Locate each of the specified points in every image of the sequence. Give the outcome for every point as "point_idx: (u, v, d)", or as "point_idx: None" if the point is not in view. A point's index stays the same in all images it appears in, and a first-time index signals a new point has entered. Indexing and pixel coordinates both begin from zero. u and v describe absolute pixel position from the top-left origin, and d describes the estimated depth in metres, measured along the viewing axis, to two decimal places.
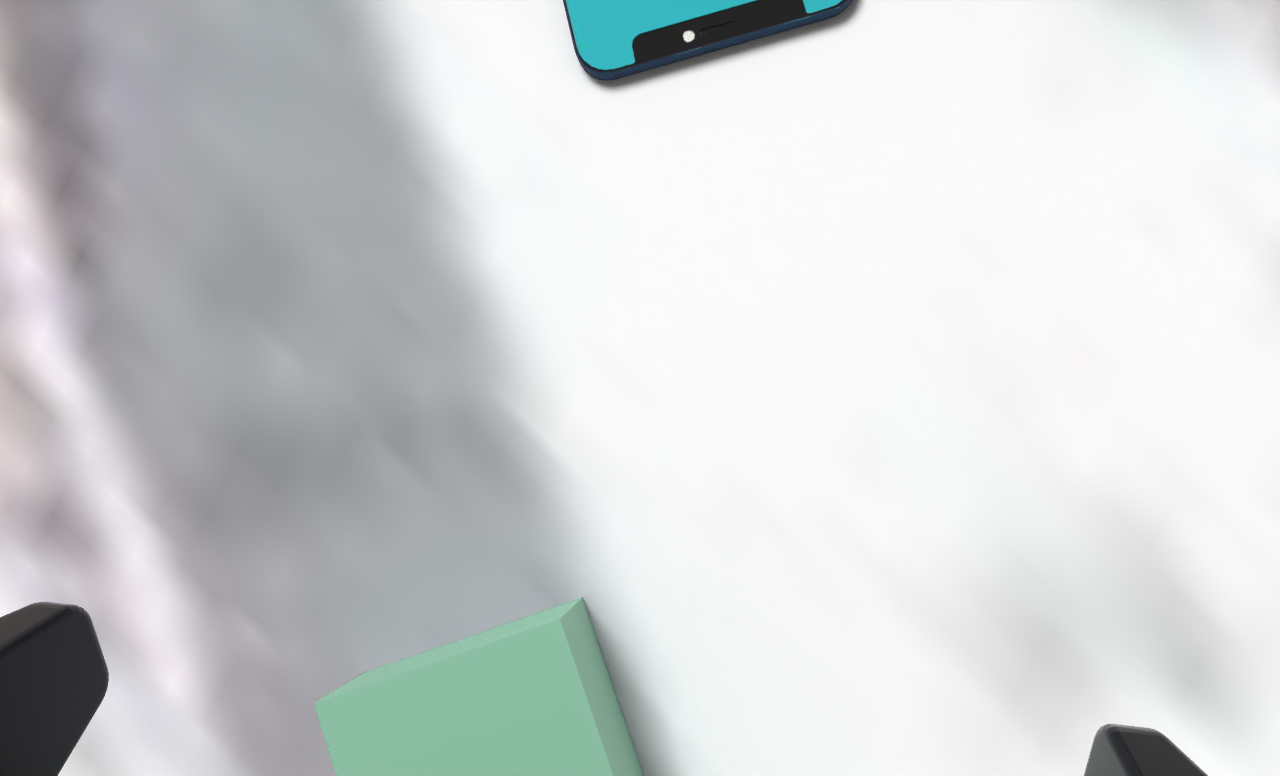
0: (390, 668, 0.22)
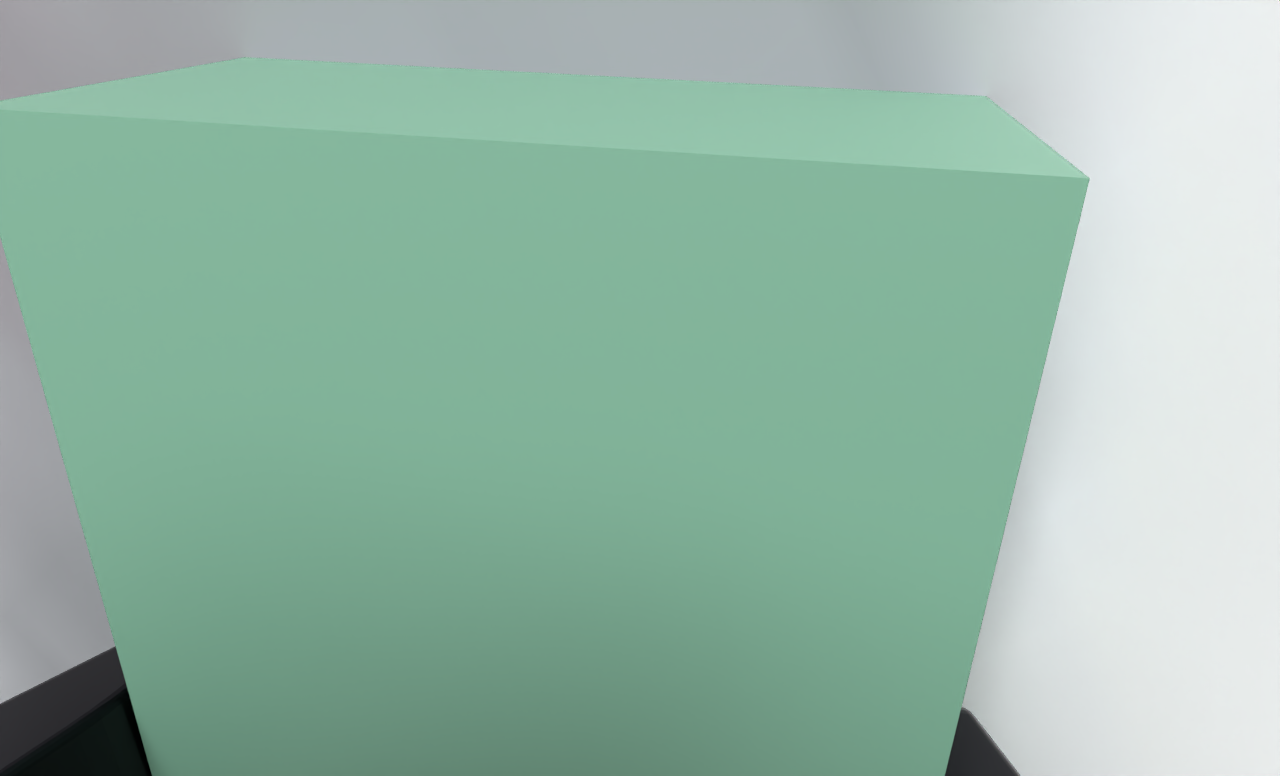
0: (305, 83, 0.06)
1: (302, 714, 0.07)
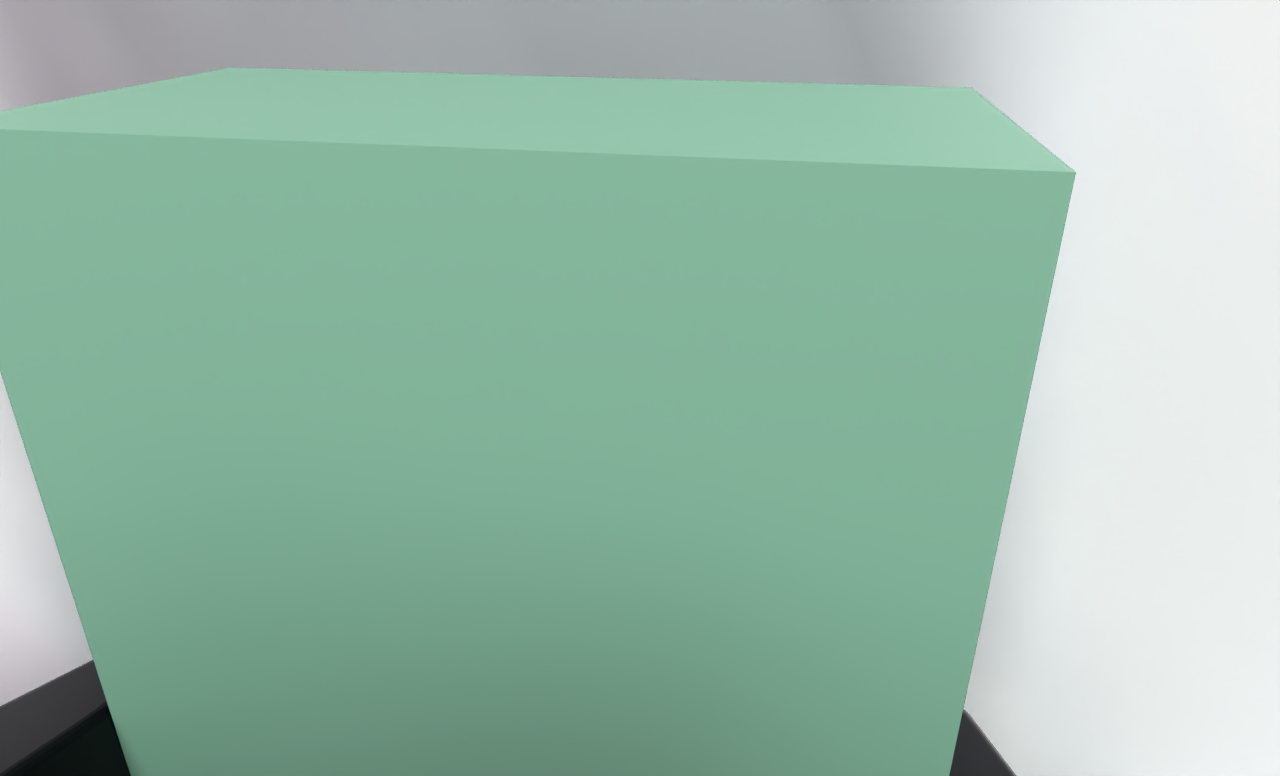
0: (277, 93, 0.06)
1: (288, 738, 0.07)
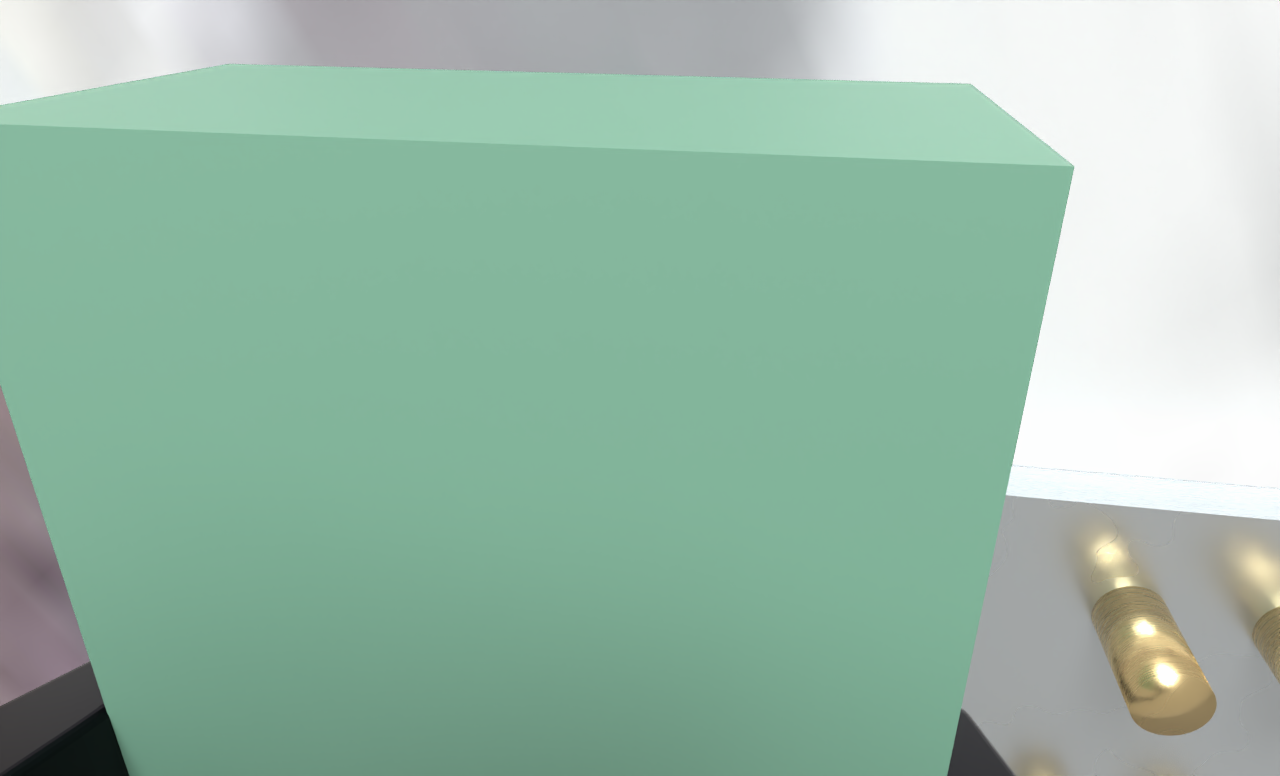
0: (273, 89, 0.06)
1: (285, 735, 0.07)
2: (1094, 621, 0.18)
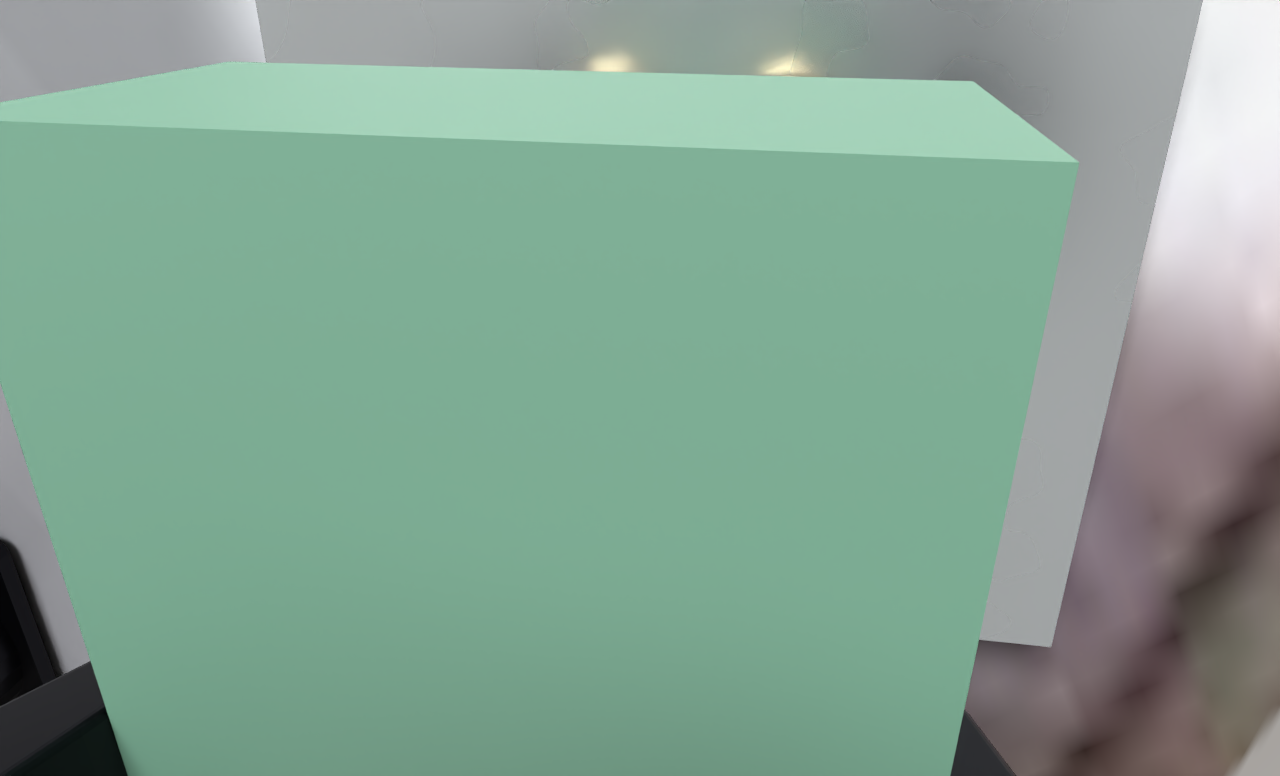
0: (274, 86, 0.06)
1: (285, 735, 0.07)
2: None
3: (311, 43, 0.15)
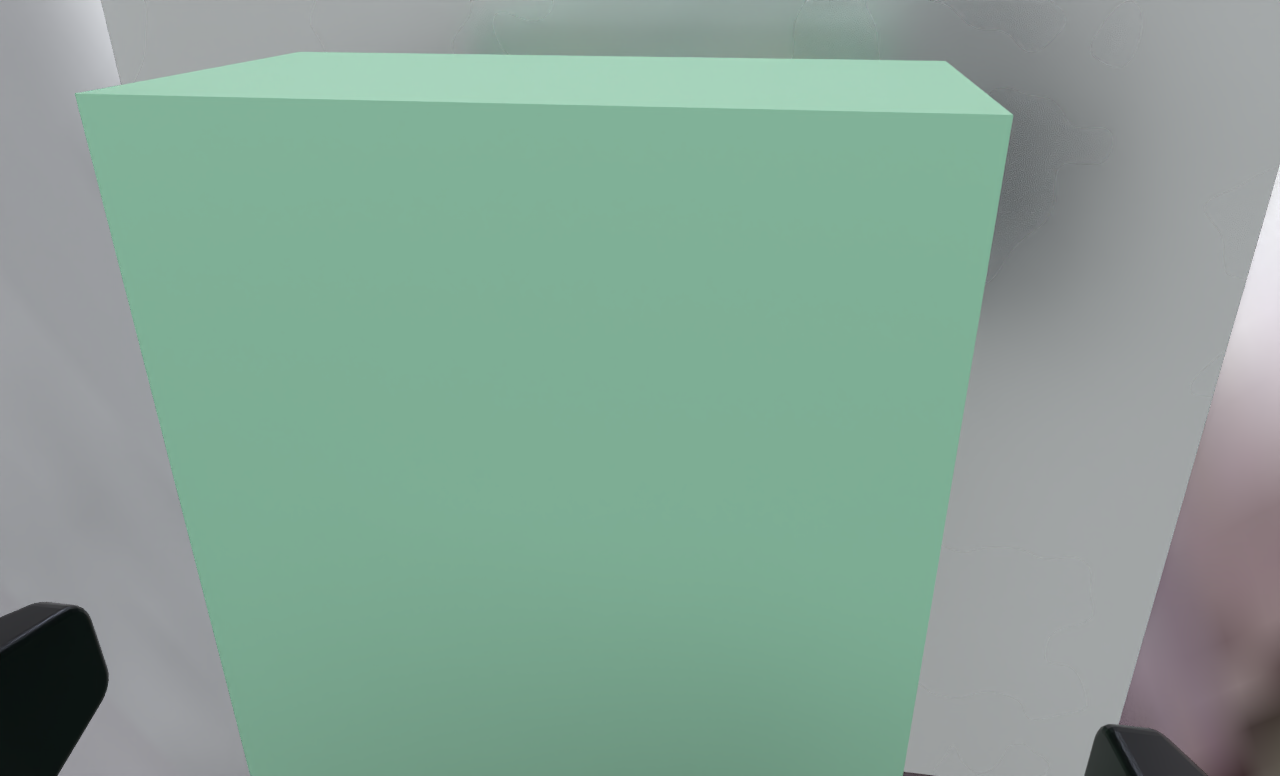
0: (351, 69, 0.07)
1: (362, 624, 0.08)
2: None
3: (176, 68, 0.12)
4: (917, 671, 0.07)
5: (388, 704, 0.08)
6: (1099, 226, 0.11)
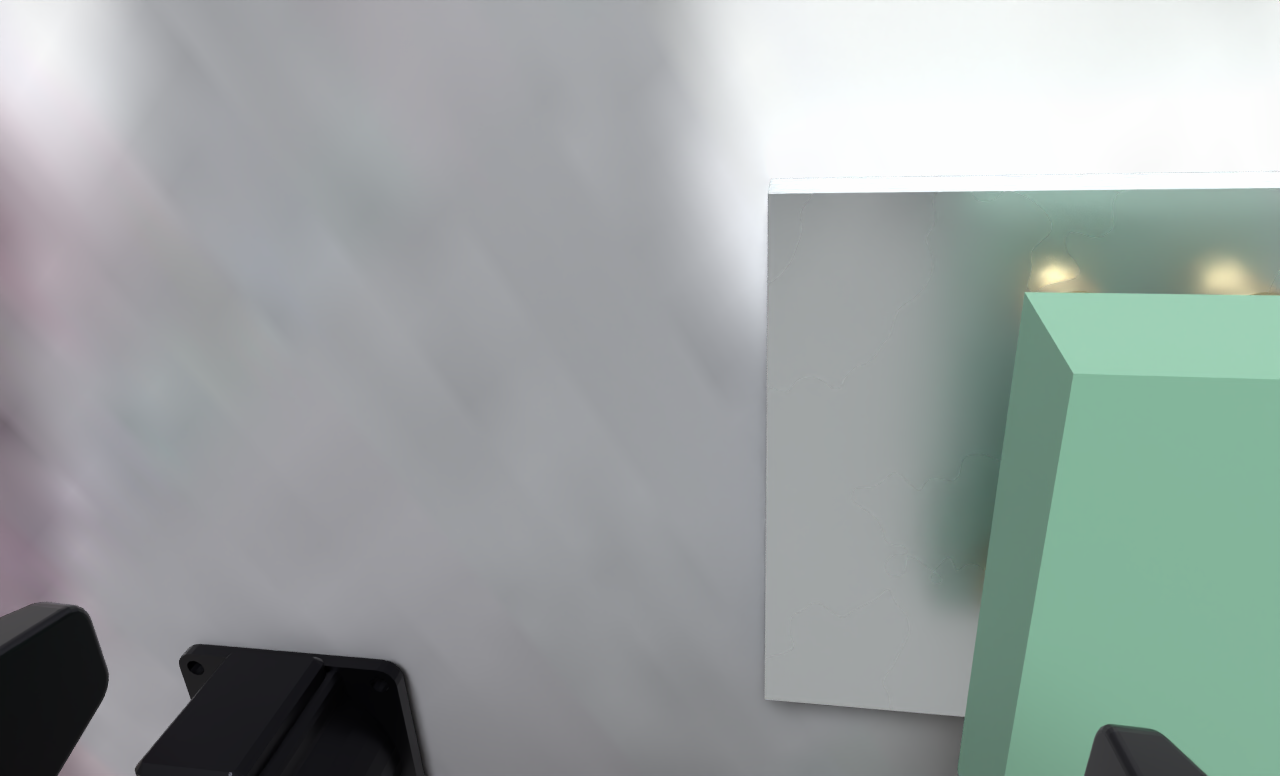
0: (1138, 327, 0.12)
1: (1135, 655, 0.13)
2: None
3: (813, 267, 0.17)
4: None
5: (1133, 703, 0.13)
6: None
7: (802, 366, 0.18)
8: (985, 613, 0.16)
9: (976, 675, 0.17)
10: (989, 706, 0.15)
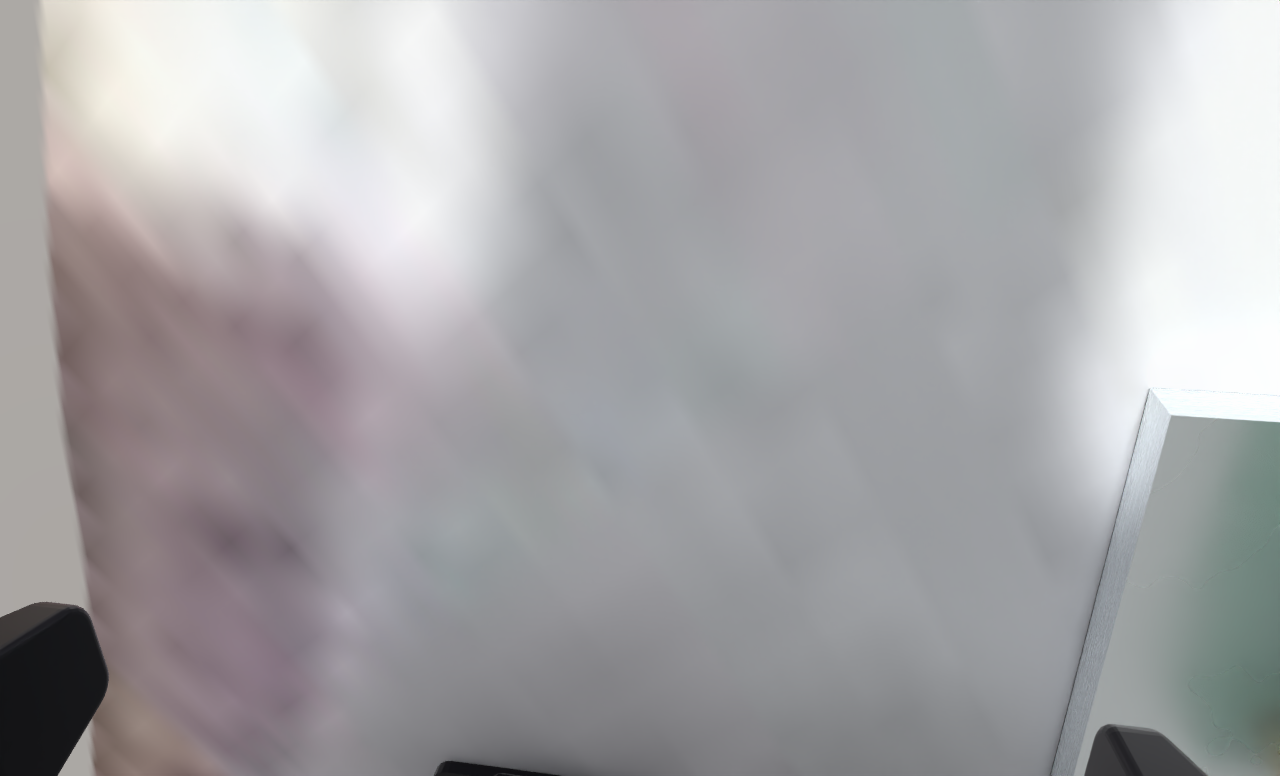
0: None
1: None
2: None
3: (1201, 482, 0.17)
4: None
5: None
6: None
7: (1167, 566, 0.18)
8: None
9: None
10: None
